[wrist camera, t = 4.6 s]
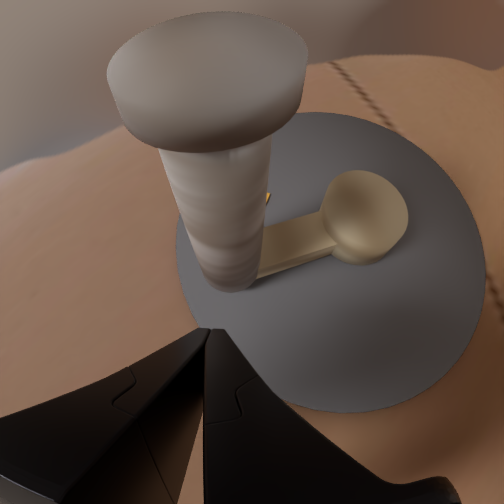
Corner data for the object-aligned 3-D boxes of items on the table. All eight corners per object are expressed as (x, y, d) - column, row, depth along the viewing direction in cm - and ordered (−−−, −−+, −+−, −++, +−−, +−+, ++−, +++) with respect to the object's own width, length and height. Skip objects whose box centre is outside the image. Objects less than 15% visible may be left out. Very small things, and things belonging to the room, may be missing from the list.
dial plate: (517, 288, 18) (523, 285, 18) (289, 481, 14) (291, 485, 13) (365, 95, 26) (366, 89, 25) (132, 181, 21) (130, 175, 21)
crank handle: (369, 187, 20) (448, 17, 8) (403, 251, 18) (534, 97, 6) (182, 240, 18) (108, 32, 6) (206, 321, 17) (108, 150, 4)
